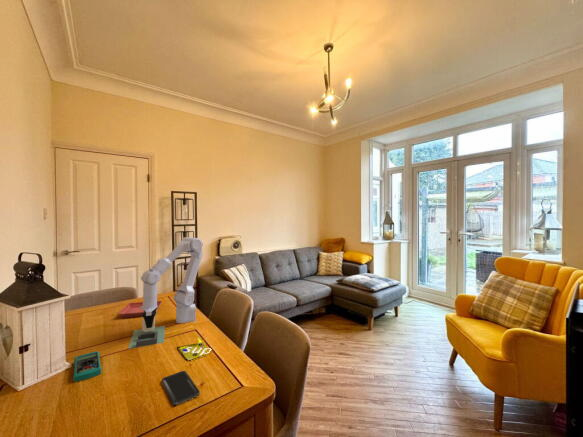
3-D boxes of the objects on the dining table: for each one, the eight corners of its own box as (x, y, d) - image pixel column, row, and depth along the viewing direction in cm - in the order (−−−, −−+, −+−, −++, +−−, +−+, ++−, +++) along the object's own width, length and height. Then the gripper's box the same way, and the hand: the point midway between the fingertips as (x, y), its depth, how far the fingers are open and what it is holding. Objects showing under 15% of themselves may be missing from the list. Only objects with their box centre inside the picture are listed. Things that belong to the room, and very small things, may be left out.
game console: (172, 345, 108) (172, 342, 108) (197, 337, 116) (197, 334, 116) (188, 363, 95) (188, 359, 95) (215, 353, 103) (216, 349, 103)
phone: (173, 404, 73) (161, 378, 84) (173, 408, 73) (160, 381, 84) (201, 393, 78) (185, 369, 89) (201, 396, 78) (185, 372, 89)
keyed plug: (154, 327, 120) (154, 312, 120) (154, 330, 116) (154, 315, 116) (143, 329, 118) (143, 314, 118) (142, 332, 114) (142, 317, 114)
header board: (165, 327, 124) (165, 321, 124) (163, 344, 107) (164, 337, 107) (134, 332, 118) (134, 326, 118) (128, 351, 102) (128, 343, 102)
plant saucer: (128, 308, 150) (128, 302, 150) (162, 305, 155) (162, 300, 155) (117, 320, 132) (117, 313, 132) (155, 317, 138) (156, 310, 138)
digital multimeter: (73, 384, 82) (73, 375, 82) (73, 363, 93) (74, 355, 93) (101, 376, 86) (101, 367, 86) (98, 357, 98) (99, 349, 98)
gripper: (141, 293, 122) (141, 321, 122) (138, 302, 109) (137, 333, 109) (158, 291, 125) (157, 318, 125) (156, 300, 112) (156, 330, 112)
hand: (149, 325), depth 117 cm, fingers closed on keyed plug, 4 cm apart
